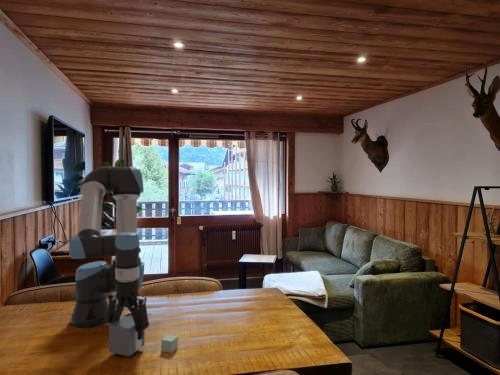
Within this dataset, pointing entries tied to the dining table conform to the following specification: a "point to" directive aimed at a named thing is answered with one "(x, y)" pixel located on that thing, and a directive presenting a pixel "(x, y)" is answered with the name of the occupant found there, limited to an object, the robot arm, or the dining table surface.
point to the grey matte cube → (123, 336)
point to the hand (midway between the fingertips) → (127, 346)
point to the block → (169, 343)
